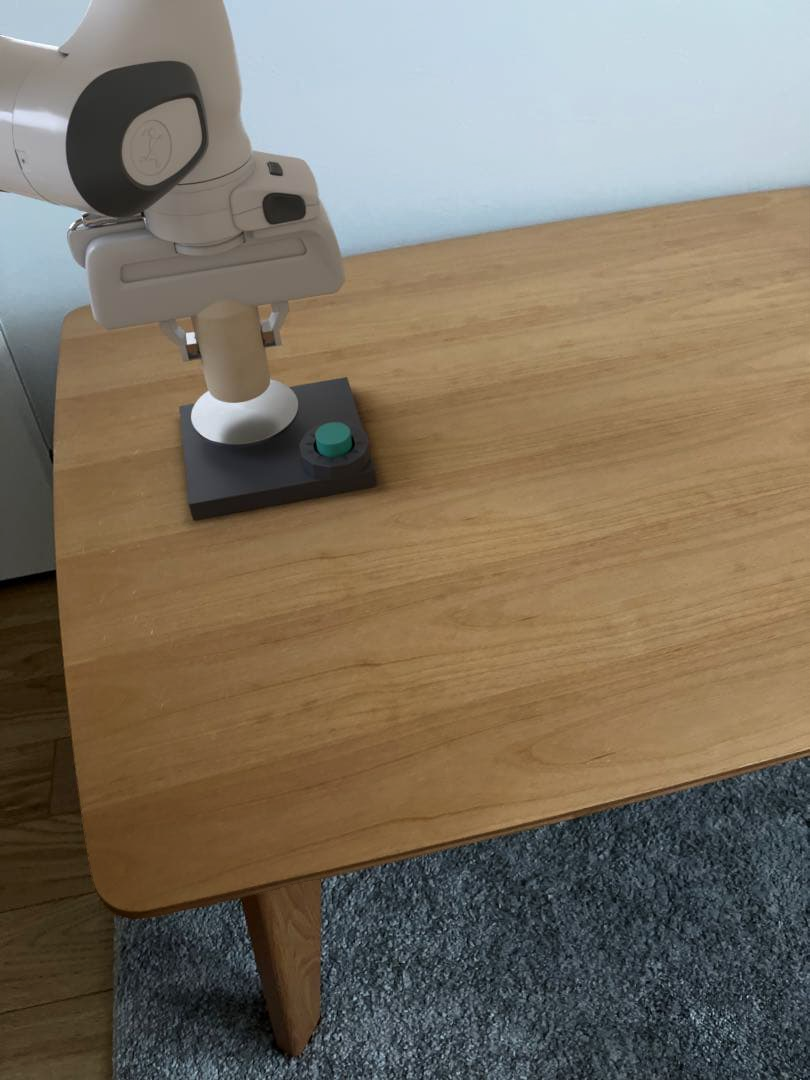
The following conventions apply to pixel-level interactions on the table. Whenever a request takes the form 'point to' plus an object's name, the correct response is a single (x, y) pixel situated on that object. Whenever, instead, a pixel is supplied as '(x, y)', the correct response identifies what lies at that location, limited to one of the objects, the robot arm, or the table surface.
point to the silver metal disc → (245, 417)
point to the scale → (278, 458)
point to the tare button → (333, 439)
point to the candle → (232, 351)
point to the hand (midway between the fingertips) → (232, 349)
